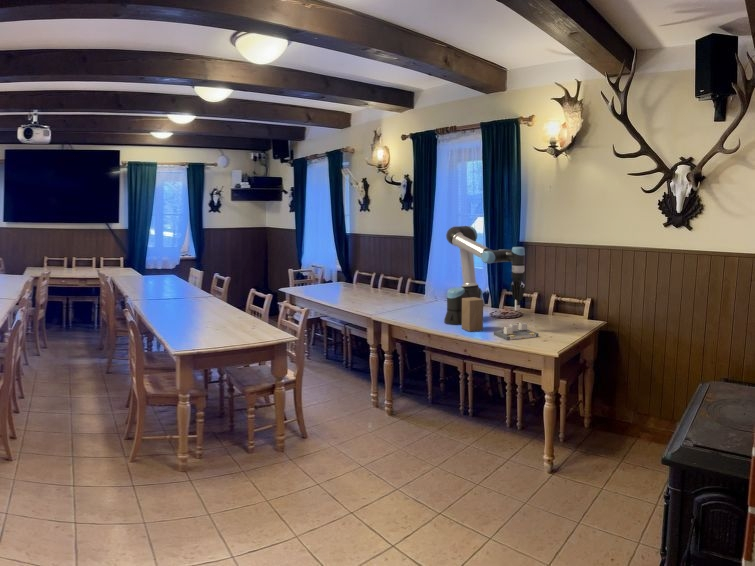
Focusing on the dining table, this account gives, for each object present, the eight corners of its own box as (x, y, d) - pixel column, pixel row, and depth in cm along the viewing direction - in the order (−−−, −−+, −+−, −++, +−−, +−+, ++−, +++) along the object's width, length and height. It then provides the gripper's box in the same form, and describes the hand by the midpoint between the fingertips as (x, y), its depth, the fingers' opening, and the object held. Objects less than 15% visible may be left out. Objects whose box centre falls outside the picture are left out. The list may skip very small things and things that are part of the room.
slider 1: (503, 333, 305) (503, 326, 304) (509, 332, 306) (509, 325, 306) (506, 334, 302) (506, 327, 301) (512, 333, 303) (512, 326, 303)
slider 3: (518, 329, 314) (518, 322, 314) (524, 328, 316) (524, 322, 315) (521, 330, 312) (521, 323, 311) (527, 329, 313) (527, 323, 312)
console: (493, 334, 312) (493, 331, 311) (524, 331, 319) (524, 328, 319) (507, 340, 298) (507, 336, 298) (538, 336, 306) (538, 333, 305)
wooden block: (461, 328, 329) (461, 298, 326) (474, 327, 332) (475, 296, 329) (469, 332, 320) (469, 300, 317) (483, 330, 323) (483, 299, 320)
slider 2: (509, 330, 312) (509, 323, 311) (514, 329, 313) (515, 323, 312) (512, 331, 309) (512, 324, 308) (517, 331, 310) (517, 324, 310)
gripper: (506, 271, 319) (506, 308, 323) (519, 273, 307) (518, 312, 310) (516, 270, 322) (516, 307, 325) (529, 272, 310) (528, 311, 313)
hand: (517, 310), depth 318 cm, fingers closed
